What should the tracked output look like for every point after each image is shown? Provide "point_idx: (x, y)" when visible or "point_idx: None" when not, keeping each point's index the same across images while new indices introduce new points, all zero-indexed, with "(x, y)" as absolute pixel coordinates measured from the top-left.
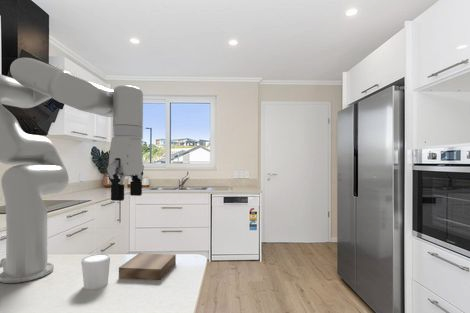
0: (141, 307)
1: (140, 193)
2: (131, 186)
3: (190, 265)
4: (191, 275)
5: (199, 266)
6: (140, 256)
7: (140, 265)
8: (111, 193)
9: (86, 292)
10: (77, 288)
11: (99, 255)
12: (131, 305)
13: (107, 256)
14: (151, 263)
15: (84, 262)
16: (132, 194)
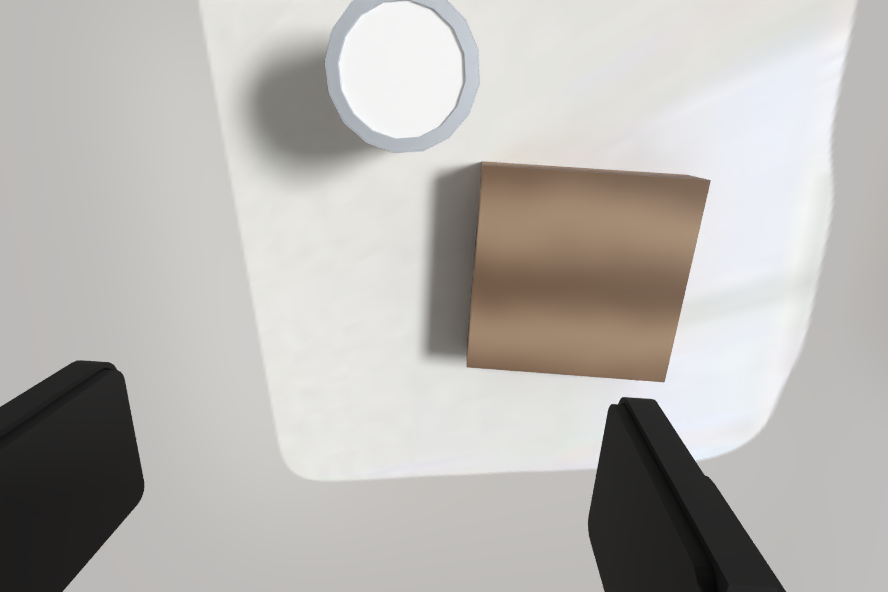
0: (267, 347)
1: (596, 550)
2: (651, 517)
3: None
4: (517, 444)
5: None
6: (648, 211)
7: (511, 263)
8: (5, 413)
9: None
10: None
11: (449, 64)
12: (273, 311)
13: (435, 127)
14: (538, 306)
15: (330, 41)
16: (608, 435)
